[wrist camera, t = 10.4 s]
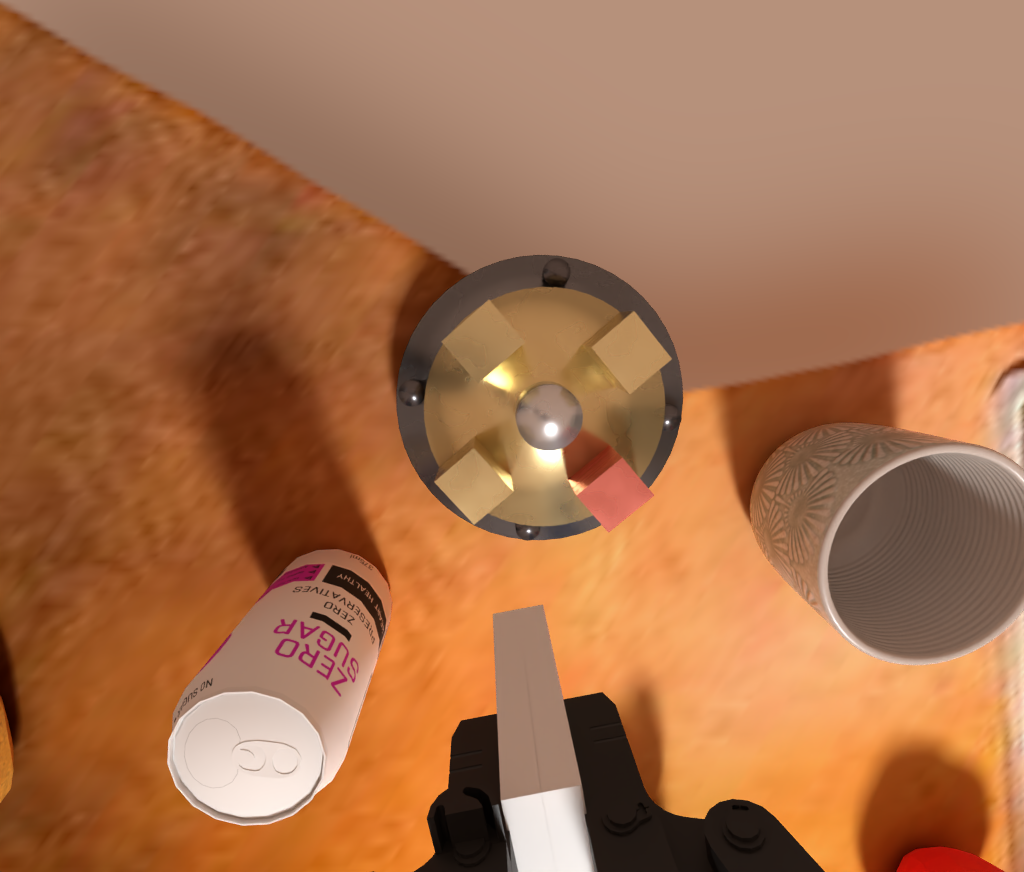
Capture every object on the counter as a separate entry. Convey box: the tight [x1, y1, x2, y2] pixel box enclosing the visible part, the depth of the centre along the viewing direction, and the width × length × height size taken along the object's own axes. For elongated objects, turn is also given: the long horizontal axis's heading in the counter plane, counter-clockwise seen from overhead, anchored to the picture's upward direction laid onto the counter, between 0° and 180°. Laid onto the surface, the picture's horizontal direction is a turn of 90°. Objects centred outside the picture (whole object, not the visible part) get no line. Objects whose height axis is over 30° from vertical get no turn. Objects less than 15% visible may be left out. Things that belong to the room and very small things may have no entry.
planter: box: [750, 423, 1024, 665], centre depth 35 cm, size 12×12×11 cm
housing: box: [397, 255, 683, 540], centre depth 34 cm, size 18×18×8 cm
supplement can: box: [167, 549, 392, 825], centre depth 33 cm, size 8×8×15 cm
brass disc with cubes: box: [424, 287, 672, 533], centre depth 32 cm, size 14×14×6 cm
